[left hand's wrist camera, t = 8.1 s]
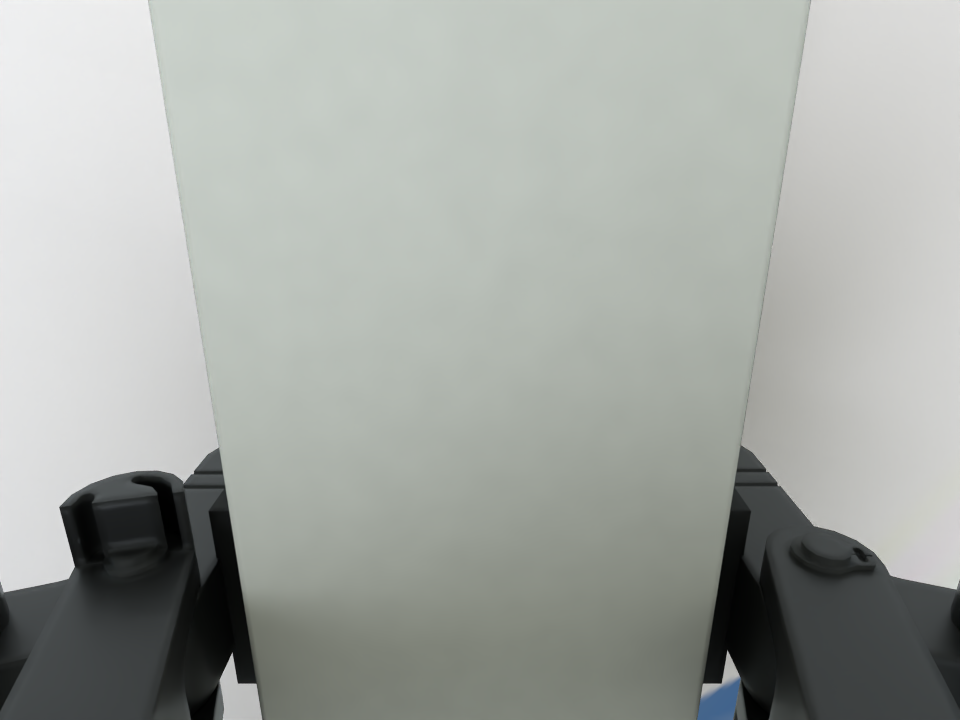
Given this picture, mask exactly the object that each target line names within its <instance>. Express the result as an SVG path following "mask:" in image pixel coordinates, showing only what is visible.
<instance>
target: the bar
mask: <svg viewBox="0 0 960 720" xmlns="http://www.w3.org/2000/svg"><path fill="white" fill-rule="evenodd" d="M148 3H149V9H150V15H151V22H152V28H153V34H154V41H155V47H156V53H157V59H158V66H159V72H160V78H161V85H162V91H163V97H164V103H165V110H166V116H167V122H168V129H169V135H170V141H171V148H172V154H173V160H174V166H175V173H176V179H177V185H178V192H179V198H180V204H181V210H182V217H183V223H184V229H185V236H186V242H187V248H188V254H189V261H190V267H191V273H192V280H193V286H194V292H195V299H196V305H197V311H198V317H199V324H200V330H201V336H202V343H203V349H204V355H205V361H206V368H207V374H208V380H209V387H210V393H211V399H212V405H213V412H214V418H215V424H216V431H217V437H218V443H219V450H220V456H221V462H222V468H223V475H224V481H225V487H226V494H227V500H228V506H229V512H230V519H231V525H232V531H233V538H234V544H235V550H236V556H237V563H238V569H239V575H240V582H241V588H242V594H243V601H244V607H245V613H246V619H247V626H248V632H249V638H250V645H251V651H252V657H253V663H254V670H255V676H256V682H257V689H258V695H259V701H260V707H261V714H262V720H697V717H698V710H699V704H700V698H701V692H702V685H703V679H704V673H705V666H706V660H707V654H708V647H709V641H710V635H711V628H712V622H713V616H714V609H715V603H716V597H717V590H718V584H719V578H720V571H721V565H722V559H723V552H724V546H725V540H726V534H727V527H728V521H729V515H730V508H731V502H732V496H733V489H734V483H735V477H736V470H737V464H738V458H739V451H740V445H741V439H742V432H743V426H744V420H745V413H746V407H747V401H748V395H749V388H750V382H751V376H752V369H753V363H754V357H755V350H756V344H757V338H758V331H759V325H760V319H761V312H762V306H763V300H764V293H765V287H766V281H767V274H768V268H769V262H770V256H771V249H772V243H773V237H774V230H775V224H776V218H777V211H778V205H779V199H780V192H781V186H782V180H783V173H784V167H785V161H786V154H787V148H788V142H789V135H790V129H791V123H792V117H793V110H794V104H795V98H796V91H797V85H798V79H799V72H800V66H801V60H802V53H803V47H804V41H805V34H806V28H807V22H808V15H809V9H810V3H811V0H148Z"/></svg>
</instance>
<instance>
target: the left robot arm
mask: <svg viewBox="0 0 960 720" xmlns="http://www.w3.org/2000/svg"><path fill="white" fill-rule="evenodd" d="M59 508H60V512H61V515H62V519H63V523H64V527H65V530H66V534H67V538H68V542H69V546H70V549H71V553H72V557H73V561H74V564H75V568H74V570H73V572H72V574H71V576H70V578H69V579H67V580H63V581H59V582H55V583H50V584H45V585H40V586H35V587H30V588H25V589H20V590H15V591H10V592H5V593H4V592H3V589H2V586H1V583H0V720H223V712H224V705H223V697H222V691H221V686H220V678H221V675H222V673H223V671H224V669H225V667H226V665H227V663H228V661H229V658H230V656H231V654H232V652H233V657H234V663H235V669H236V675H237V680H238V683H257V682H256V676H255V670H254V663H253V657H252V651H251V645H250V638H249V632H248V626H247V619H246V613H245V607H244V601H243V594H242V588H241V582H240V575H239V569H238V563H237V556H236V550H235V544H234V538H233V531H232V525H231V519H230V512H229V506H228V500H227V494H226V487H225V481H224V475H223V468H222V462H221V456H220V450H219V448H218V449H216V450H215V451H213V452H211V453H210V454H208V455H207V456H206V458H205V459H204V460H203V461H202V462H201V464H200V465H199V466H198V467H197V468H196V470H195V471H194V475H191V476H190V477H189V478H188V479H187V480H186V482H185V483H184V484H183V481H182V480H180V479H179V478H178V477H176V476H175V475H174V474H170V473H165V472H161V471H136V472H130V473H125V474H120V475H115V476H112V477H109V478H106V479H103V480H100V481H98V482H95V483H92V484H90V485H88V486H86V487H85V488H83V489H81V490H79V491H78V492H76V493H74V494H72V495H71V496H70V497H69V498H68V499H67V500H66V501H65V502H64V503H63V504H62V505H61V506H60V507H59ZM727 650H728V652H729V654H730V656H731V658H732V660H733V662H734V664H735V666H736V669H737V671H738V673H739V675H740V677H741V680H740V686H739V691H738V696H737V702H736V707H735V713H734V718H733V720H960V581H959V584H958V587H957V590H955V589H950V588H945V587H940V586H935V585H930V584H925V583H920V582H915V581H910V580H905V579H900V578H897V577H893V576H890V575H889V573H888V571H887V569H886V567H885V565H884V564H883V563H882V562H881V560H880V559H879V558H878V557H877V556H876V554H875V553H874V552H872V551H871V550H870V549H868V548H867V547H865V546H864V545H862V544H861V543H859V542H858V541H856V540H854V539H852V538H849V537H847V536H845V535H842V534H840V533H838V532H835V531H832V530H827V529H823V528H819V527H814V526H813V525H812V524H811V522H810V521H809V520H808V519H807V518H806V516H805V515H804V514H803V513H802V512H801V510H800V509H799V508H798V507H797V506H796V504H795V503H794V502H793V501H792V500H791V498H790V497H789V496H788V495H787V494H786V492H785V491H784V490H783V489H782V488H781V486H778V485H777V482H776V480H775V479H774V478H773V477H772V476H771V474H770V473H769V472H766V468H765V467H764V466H763V465H762V464H761V462H760V461H759V460H758V459H757V458H756V457H755V455H754V454H753V453H752V452H751V451H749V450H747V449H746V448H744V447H742V446H741V445H740V451H739V458H738V464H737V470H736V477H735V483H734V489H733V496H732V502H731V508H730V515H729V521H728V527H727V534H726V540H725V546H724V552H723V559H722V565H721V571H720V578H719V584H718V590H717V597H716V603H715V609H714V616H713V622H712V628H711V635H710V641H709V647H708V654H707V660H706V666H705V673H704V679H703V683H722V678H723V672H724V666H725V661H726V655H727Z"/></svg>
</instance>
